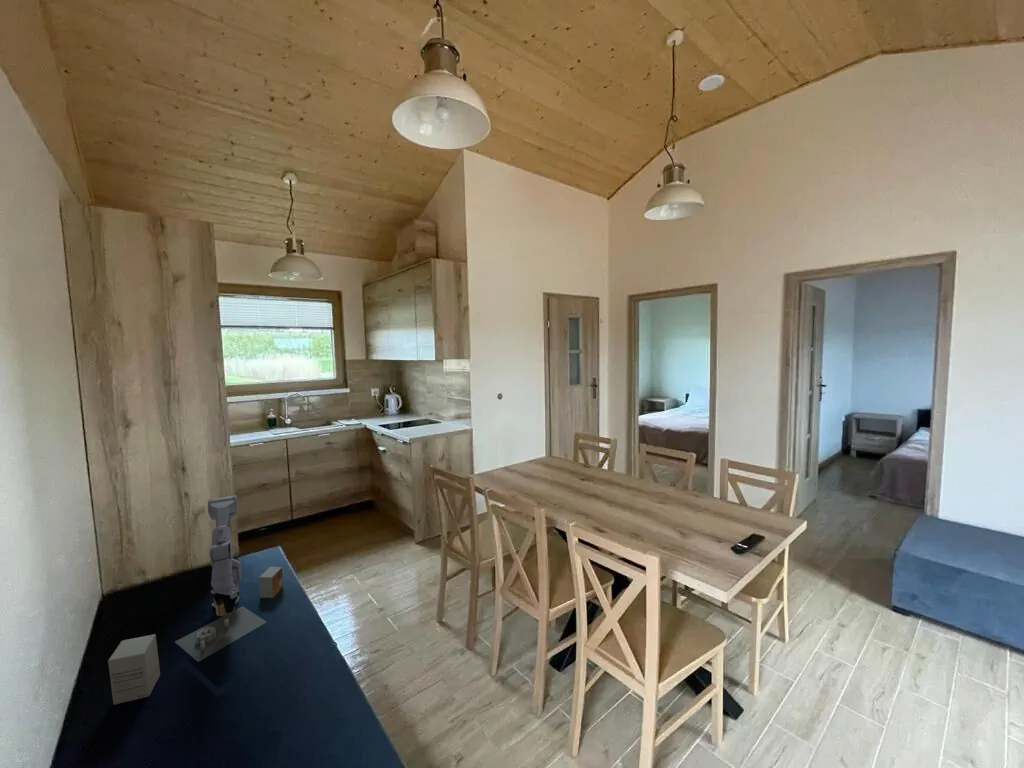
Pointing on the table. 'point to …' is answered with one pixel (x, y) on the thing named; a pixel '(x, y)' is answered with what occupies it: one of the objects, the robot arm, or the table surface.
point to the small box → (271, 582)
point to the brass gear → (221, 608)
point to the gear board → (219, 633)
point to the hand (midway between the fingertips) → (225, 609)
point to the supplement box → (134, 669)
